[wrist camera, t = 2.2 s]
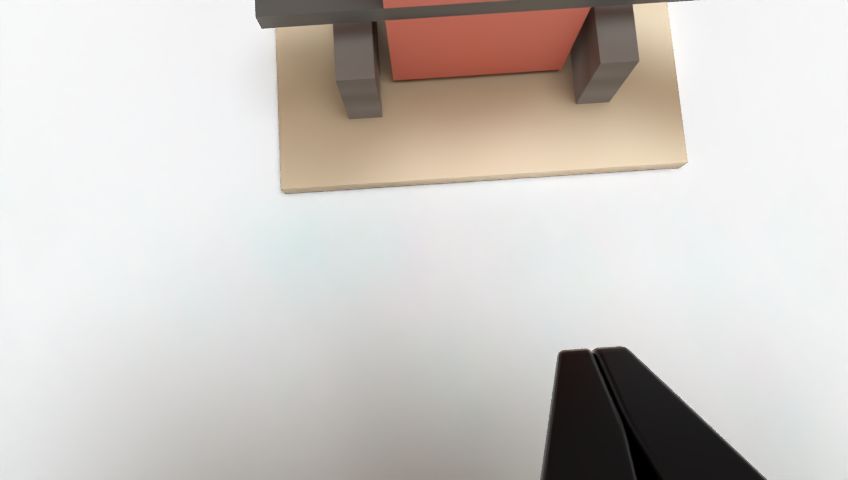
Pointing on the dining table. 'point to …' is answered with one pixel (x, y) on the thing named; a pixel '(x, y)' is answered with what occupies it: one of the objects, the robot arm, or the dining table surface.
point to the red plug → (454, 31)
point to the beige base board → (477, 109)
